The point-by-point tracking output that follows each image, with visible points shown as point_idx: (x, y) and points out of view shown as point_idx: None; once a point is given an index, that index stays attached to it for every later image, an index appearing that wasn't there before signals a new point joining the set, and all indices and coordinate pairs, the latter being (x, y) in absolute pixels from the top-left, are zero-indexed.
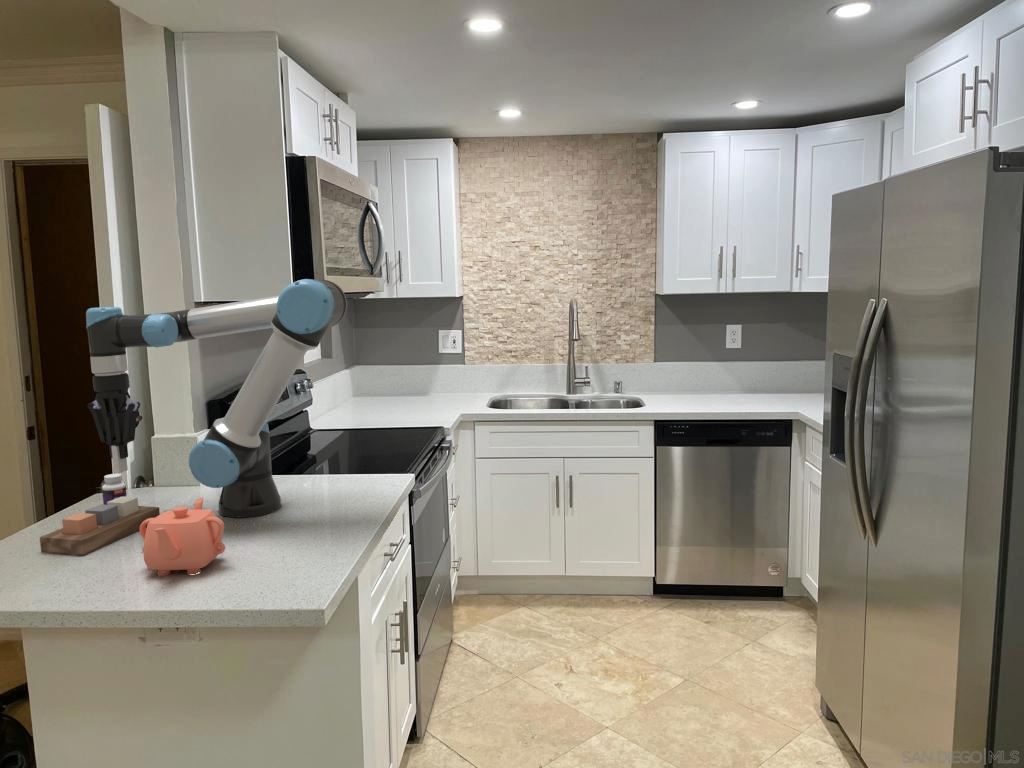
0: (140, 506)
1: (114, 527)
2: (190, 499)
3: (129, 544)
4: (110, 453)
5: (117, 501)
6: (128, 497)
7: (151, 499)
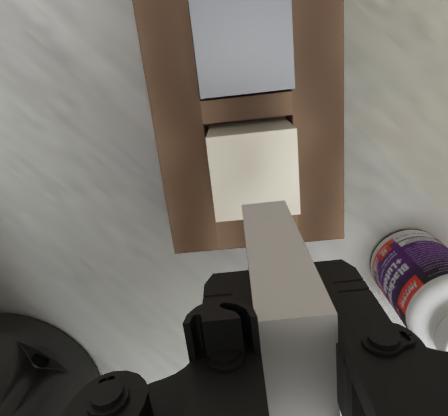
0: None
1: (134, 7)
2: None
3: (69, 5)
4: (358, 281)
5: (255, 150)
6: None
7: None
